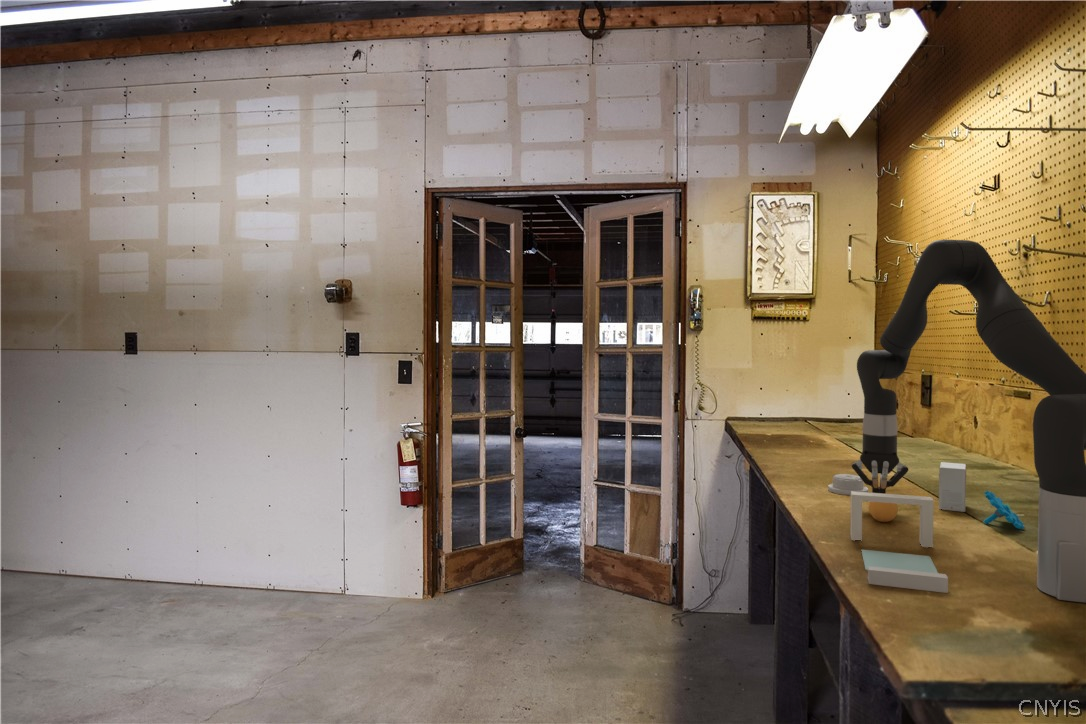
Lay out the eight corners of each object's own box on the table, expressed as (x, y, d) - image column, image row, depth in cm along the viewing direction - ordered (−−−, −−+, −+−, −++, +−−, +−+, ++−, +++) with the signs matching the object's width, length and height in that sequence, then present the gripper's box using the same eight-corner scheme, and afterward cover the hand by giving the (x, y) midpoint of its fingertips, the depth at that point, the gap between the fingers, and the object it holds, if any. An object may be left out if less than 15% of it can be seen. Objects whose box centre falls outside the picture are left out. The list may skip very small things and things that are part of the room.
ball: (899, 526, 151) (899, 499, 151) (869, 523, 153) (869, 497, 153) (896, 519, 157) (896, 493, 156) (867, 516, 159) (867, 491, 159)
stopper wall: (947, 593, 113) (948, 578, 113) (868, 583, 117) (868, 569, 117) (945, 588, 115) (945, 574, 115) (867, 579, 119) (867, 565, 119)
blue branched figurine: (1023, 527, 143) (985, 489, 148) (999, 543, 146) (962, 505, 151) (1031, 523, 151) (994, 487, 157) (1007, 539, 154) (973, 502, 159)
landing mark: (940, 578, 119) (940, 577, 119) (865, 570, 124) (865, 569, 124) (929, 557, 130) (929, 556, 130) (861, 550, 135) (861, 549, 135)
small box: (965, 512, 161) (966, 469, 161) (938, 509, 164) (939, 467, 164) (965, 505, 168) (966, 463, 168) (939, 502, 171) (940, 461, 171)
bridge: (932, 547, 136) (933, 500, 136) (851, 540, 142) (851, 494, 141) (930, 543, 139) (931, 496, 138) (850, 536, 144) (850, 491, 144)
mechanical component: (875, 496, 179) (857, 487, 189) (875, 479, 179) (857, 472, 189) (838, 497, 179) (821, 488, 189) (838, 480, 179) (822, 472, 189)
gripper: (850, 433, 162) (849, 504, 163) (912, 435, 157) (911, 509, 158) (849, 428, 169) (848, 496, 170) (908, 431, 164) (907, 501, 165)
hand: (878, 502), depth 164 cm, fingers closed
